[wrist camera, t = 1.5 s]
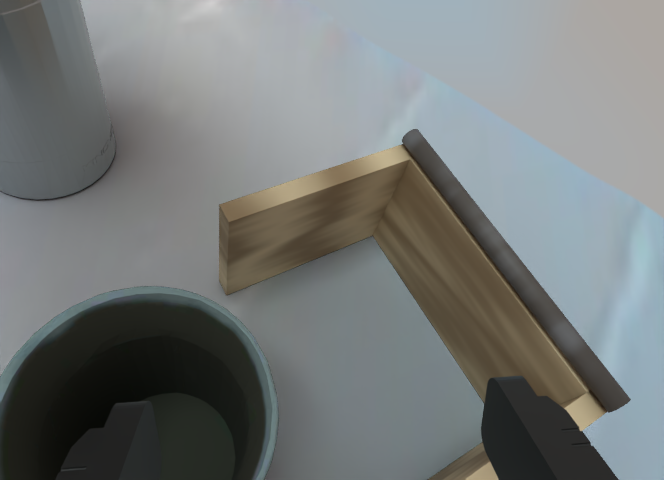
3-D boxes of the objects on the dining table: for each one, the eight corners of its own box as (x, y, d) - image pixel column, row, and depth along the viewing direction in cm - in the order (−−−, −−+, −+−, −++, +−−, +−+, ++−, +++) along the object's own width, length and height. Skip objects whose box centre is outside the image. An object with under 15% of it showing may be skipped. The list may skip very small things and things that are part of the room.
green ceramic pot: (147, 343, 31) (113, 244, 21) (290, 424, 30) (326, 361, 20) (21, 508, 26) (-106, 481, 16) (191, 613, 25) (173, 657, 15)
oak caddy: (357, 557, 27) (420, 561, 19) (219, 280, 34) (219, 191, 26) (526, 437, 32) (635, 396, 24) (377, 218, 39) (421, 127, 31)
